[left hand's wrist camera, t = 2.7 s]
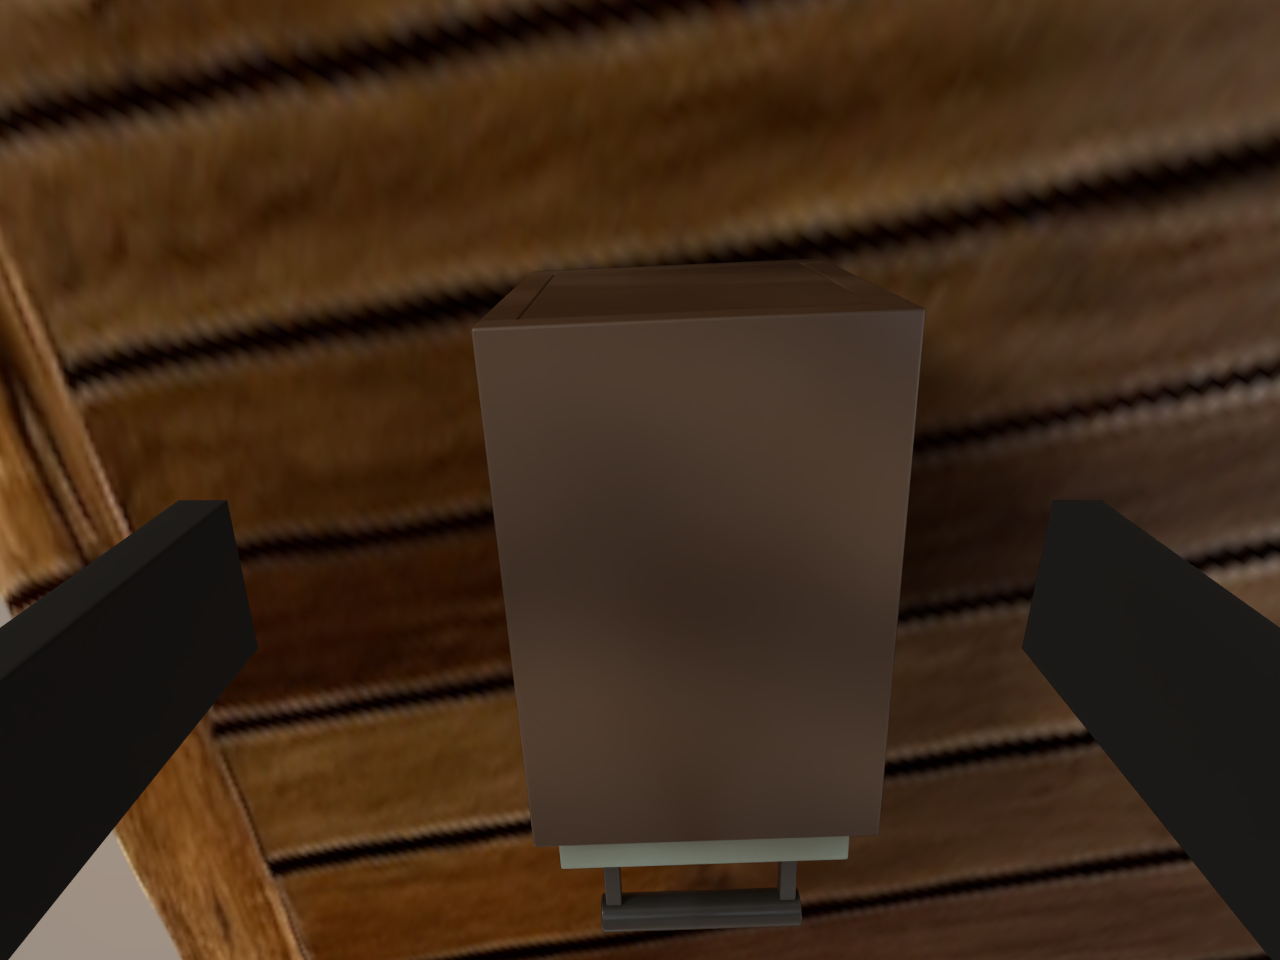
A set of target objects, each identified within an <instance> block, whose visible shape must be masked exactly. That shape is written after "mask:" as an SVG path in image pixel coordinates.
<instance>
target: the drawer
mask: <svg viewBox="0 0 1280 960" xmlns="http://www.w3.org/2000/svg"><path fill="white" fill-rule="evenodd" d="M848 849H849V836H838V837H809V838H779V839H750V840H721V841H691V842H662V843H633V844H604V845H574V846H559V851H560V860H561V867H562V869H571V868H600V867H603V869H604V882H605V893H604V894H603V895H602V902H601V922H602V930H603V932H625V931H656V930H687V929H717V928H748V927H779V926H800V925H801V923H802V910H801V901H800V896H799V892H798V889H797V888H796V871H797V861H808V860H838V859H847V858H848ZM749 862H778V887H777V888H749V889H719V890H689V891H659V892H629V893H622V883H621V869H620V867H630V866H660V865H689V864H719V863H749Z"/></svg>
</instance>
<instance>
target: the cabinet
mask: <svg viewBox="0 0 1280 960" xmlns="http://www.w3.org/2000/svg"><path fill="white" fill-rule="evenodd" d="M924 320H925V309H924V308H922V307H920V306H918V305H916V304H914V303H911V302H910V301H908V300H906V299H904V298H902V297H899V296H897V295H895V294H893V293H891V292H889V291H887V290H885V289H883V288H881V287H878V286H876V285H874V284H872V283H870V282H868V281H866V280H864V279H862V278H860V277H858V276H855V275H853V274H851V273H849V272H847V271H845V270H843V269H841V268H839V267H837V266H834V265H832V264H830V263H828V262H826V261H824V260H822V259H800V260H778V261H755V262H733V263H710V264H688V265H666V266H643V267H621V268H598V269H576V270H553V271H533V272H531V273H530V274H529V275H528V276H527V277H526V278H525V279H524V280H523V281H522V282H521V283H519V284H518V285H517V286H516V287H515V288H514V289H513V290H512V291H511V292H510V293H509V294H508V295H507V296H506V297H505V298H503V299H502V300H501V301H500V302H499V303H498V304H497V305H496V306H495V307H494V308H493V309H492V310H491V311H490V312H488V313H487V314H486V315H485V316H484V317H483V318H482V319H481V320H480V321H479V322H478V323H477V324H476V325H475V326H474V327H473V328H472V330H471V333H472V341H473V349H474V357H475V366H476V374H477V382H478V390H479V399H480V407H481V415H482V423H483V431H484V440H485V448H486V456H487V464H488V472H489V481H490V489H491V497H492V505H493V513H494V522H495V530H496V538H497V546H498V554H499V563H500V571H501V579H502V587H503V596H504V604H505V612H506V620H507V628H508V637H509V645H510V653H511V661H512V669H513V678H514V686H515V694H516V702H517V710H518V719H519V727H520V735H521V743H522V751H523V760H524V768H525V776H526V784H527V793H528V801H529V809H530V817H531V825H532V834H533V842H534V846H536V847H545V846H574V845H604V844H633V843H662V842H691V841H721V840H750V839H779V838H809V837H838V836H867V835H878V834H879V825H880V814H881V802H882V791H883V780H884V769H885V757H886V746H887V735H888V724H889V713H890V701H891V690H892V679H893V668H894V657H895V645H896V634H897V623H898V612H899V600H900V589H901V578H902V567H903V556H904V544H905V533H906V522H907V511H908V500H909V488H910V477H911V466H912V455H913V443H914V432H915V421H916V410H917V399H918V387H919V376H920V365H921V354H922V343H923V331H924Z"/></svg>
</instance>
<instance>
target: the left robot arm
mask: <svg viewBox="0 0 1280 960" xmlns="http://www.w3.org/2000/svg"><path fill="white" fill-rule="evenodd" d="M257 649H258V646H257V641H256V636H255V632H254V627H253V622H252V617H251V613H250V608H249V603H248V598H247V593H246V589H245V584H244V579H243V574H242V570H241V565H240V560H239V555H238V550H237V546H236V541H235V536H234V531H233V527H232V522H231V517H230V512H229V507H228V503H227V500H179V501H177V502H176V503H175V504H173V505H172V506H170V507H169V508H168V509H166V510H165V511H163V512H162V513H161V514H159V515H158V516H156V517H155V518H154V519H152V520H151V521H149V522H148V523H147V524H145V525H144V526H142V527H141V528H139V529H138V530H137V531H135V532H134V533H132V534H131V535H130V536H128V537H127V538H125V539H124V540H123V541H121V542H120V543H118V544H117V545H116V546H114V547H113V548H111V549H110V550H109V551H107V552H106V553H104V554H103V555H102V556H100V557H99V558H97V559H96V560H95V561H93V562H92V563H90V564H89V565H88V566H86V567H85V568H83V569H82V570H81V571H79V572H78V573H76V574H75V575H74V576H72V577H71V578H69V579H68V580H67V581H65V582H64V583H62V584H61V585H60V586H58V587H57V588H55V589H54V590H52V591H51V592H50V593H48V594H47V595H45V596H44V597H43V598H41V599H40V600H38V601H37V602H36V603H34V604H33V605H31V606H30V607H29V608H27V609H26V610H24V611H23V612H22V613H20V614H19V615H17V616H16V617H15V618H13V619H12V620H10V621H9V622H8V623H6V624H5V625H3V626H2V627H1V628H0V960H8V959H9V958H10V957H11V956H12V954H13V953H14V952H15V951H16V949H17V948H18V947H19V946H20V944H21V943H22V942H23V941H24V940H25V938H26V937H27V936H28V934H29V933H30V932H31V931H32V930H33V928H34V927H35V926H36V924H37V923H38V922H39V921H40V919H41V918H42V917H43V916H44V914H45V913H46V912H47V911H48V910H49V908H50V907H51V906H52V905H53V903H54V902H55V901H56V900H57V898H58V897H59V896H60V895H61V893H62V892H63V891H64V890H65V888H66V887H67V886H68V885H69V883H70V882H71V881H72V880H73V878H74V877H75V876H76V875H77V873H78V872H79V871H80V870H81V868H82V867H83V866H84V865H85V863H86V862H87V861H88V860H89V858H90V857H91V856H92V855H93V853H94V852H95V851H96V850H97V848H98V847H99V846H100V845H101V843H102V842H103V841H104V840H105V838H106V837H107V836H108V835H109V833H110V832H111V831H112V830H113V828H114V827H115V826H116V825H117V824H118V822H119V821H120V820H121V819H122V817H123V816H124V815H125V814H126V812H127V811H128V810H129V809H130V807H131V806H132V805H133V804H134V802H135V801H136V800H137V799H138V797H139V796H140V795H141V794H142V792H143V791H144V790H145V789H146V787H147V786H148V785H149V784H150V782H151V781H152V780H153V779H154V777H155V776H156V775H157V774H158V772H159V771H160V770H161V769H162V767H163V766H164V765H165V764H166V762H167V761H168V760H169V759H170V757H171V756H172V755H173V754H174V752H175V751H176V750H177V749H178V747H179V746H180V745H181V744H182V742H183V741H184V740H185V739H186V737H187V736H188V735H189V734H190V732H191V731H192V730H193V729H194V727H195V726H196V725H197V724H198V722H199V721H200V720H201V719H202V717H203V716H204V715H205V714H206V712H207V711H208V710H209V709H210V708H211V706H212V705H213V704H214V703H215V701H216V700H217V699H218V698H219V696H220V695H221V694H222V693H223V691H224V690H225V689H226V688H227V686H228V685H229V684H230V683H231V681H232V680H233V679H234V678H235V676H236V675H237V674H238V673H239V671H240V670H241V669H242V668H243V666H244V665H245V664H246V663H247V661H248V660H249V659H250V658H251V656H252V655H253V654H254V653H255V651H256V650H257ZM1022 649H1023V650H1024V651H1025V653H1026V654H1027V655H1028V656H1029V658H1030V659H1031V660H1032V661H1033V663H1034V664H1035V665H1036V666H1037V668H1038V669H1039V670H1040V671H1041V673H1042V674H1043V675H1044V676H1045V678H1046V679H1047V680H1048V681H1049V683H1050V684H1051V685H1052V686H1053V688H1054V689H1055V690H1056V691H1057V693H1058V694H1059V695H1060V696H1061V698H1062V699H1063V700H1064V701H1065V703H1066V704H1067V705H1068V706H1069V708H1070V709H1071V710H1072V711H1073V712H1074V714H1075V715H1076V716H1077V717H1078V719H1079V720H1080V721H1081V722H1082V724H1083V725H1084V726H1085V727H1086V729H1087V730H1088V731H1089V732H1090V734H1091V735H1092V736H1093V737H1094V739H1095V740H1096V741H1097V742H1098V744H1099V745H1100V746H1101V747H1102V749H1103V750H1104V751H1105V752H1106V754H1107V755H1108V756H1109V757H1110V759H1111V760H1112V761H1113V762H1114V764H1115V765H1116V766H1117V767H1118V769H1119V770H1120V771H1121V772H1122V774H1123V775H1124V776H1125V777H1126V779H1127V780H1128V781H1129V782H1130V784H1131V785H1132V786H1133V787H1134V789H1135V790H1136V791H1137V792H1138V794H1139V795H1140V796H1141V797H1142V799H1143V800H1144V801H1145V802H1146V804H1147V805H1148V806H1149V807H1150V809H1151V810H1152V811H1153V812H1154V814H1155V815H1156V816H1157V817H1158V819H1159V820H1160V821H1161V822H1162V824H1163V825H1164V826H1165V827H1166V828H1167V830H1168V831H1169V832H1170V833H1171V835H1172V836H1173V837H1174V838H1175V840H1176V841H1177V842H1178V843H1179V845H1180V846H1181V847H1182V848H1183V850H1184V851H1185V852H1186V853H1187V855H1188V856H1189V857H1190V858H1191V860H1192V861H1193V862H1194V863H1195V865H1196V866H1197V867H1198V868H1199V870H1200V871H1201V872H1202V873H1203V875H1204V876H1205V877H1206V878H1207V880H1208V881H1209V882H1210V883H1211V885H1212V886H1213V887H1214V888H1215V890H1216V891H1217V892H1218V893H1219V895H1220V896H1221V897H1222V898H1223V900H1224V901H1225V902H1226V903H1227V905H1228V906H1229V907H1230V908H1231V910H1232V911H1233V912H1234V913H1235V915H1236V916H1237V917H1238V918H1239V920H1240V921H1241V922H1242V923H1243V925H1244V926H1245V927H1246V928H1247V930H1248V931H1249V932H1250V933H1251V935H1252V936H1253V937H1254V938H1255V940H1256V941H1257V942H1258V943H1259V944H1260V946H1261V947H1262V948H1263V949H1264V951H1265V952H1266V953H1267V954H1268V956H1269V957H1270V958H1271V959H1272V960H1280V628H1279V627H1278V626H1277V625H1275V624H1274V623H1272V622H1271V621H1270V620H1268V619H1267V618H1265V617H1264V616H1263V615H1261V614H1260V613H1258V612H1257V611H1256V610H1254V609H1253V608H1251V607H1250V606H1249V605H1247V604H1246V603H1244V602H1243V601H1242V600H1240V599H1239V598H1237V597H1236V596H1235V595H1233V594H1232V593H1230V592H1229V591H1228V590H1226V589H1225V588H1223V587H1222V586H1220V585H1219V584H1218V583H1216V582H1215V581H1213V580H1212V579H1211V578H1209V577H1208V576H1206V575H1205V574H1204V573H1202V572H1201V571H1199V570H1198V569H1197V568H1195V567H1194V566H1192V565H1191V564H1190V563H1188V562H1187V561H1185V560H1184V559H1183V558H1181V557H1180V556H1178V555H1177V554H1176V553H1174V552H1173V551H1171V550H1170V549H1169V548H1167V547H1166V546H1164V545H1163V544H1162V543H1160V542H1159V541H1157V540H1156V539H1155V538H1153V537H1152V536H1150V535H1149V534H1148V533H1146V532H1145V531H1143V530H1142V529H1141V528H1139V527H1138V526H1136V525H1135V524H1133V523H1132V522H1131V521H1129V520H1128V519H1126V518H1125V517H1124V516H1122V515H1121V514H1119V513H1118V512H1117V511H1115V510H1114V509H1112V508H1111V507H1110V506H1108V505H1107V504H1105V503H1104V502H1103V501H1101V500H1053V503H1052V507H1051V512H1050V517H1049V522H1048V527H1047V531H1046V536H1045V541H1044V546H1043V550H1042V555H1041V560H1040V565H1039V570H1038V574H1037V579H1036V584H1035V589H1034V593H1033V598H1032V603H1031V608H1030V613H1029V617H1028V622H1027V627H1026V632H1025V636H1024V641H1023V646H1022Z"/></svg>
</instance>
